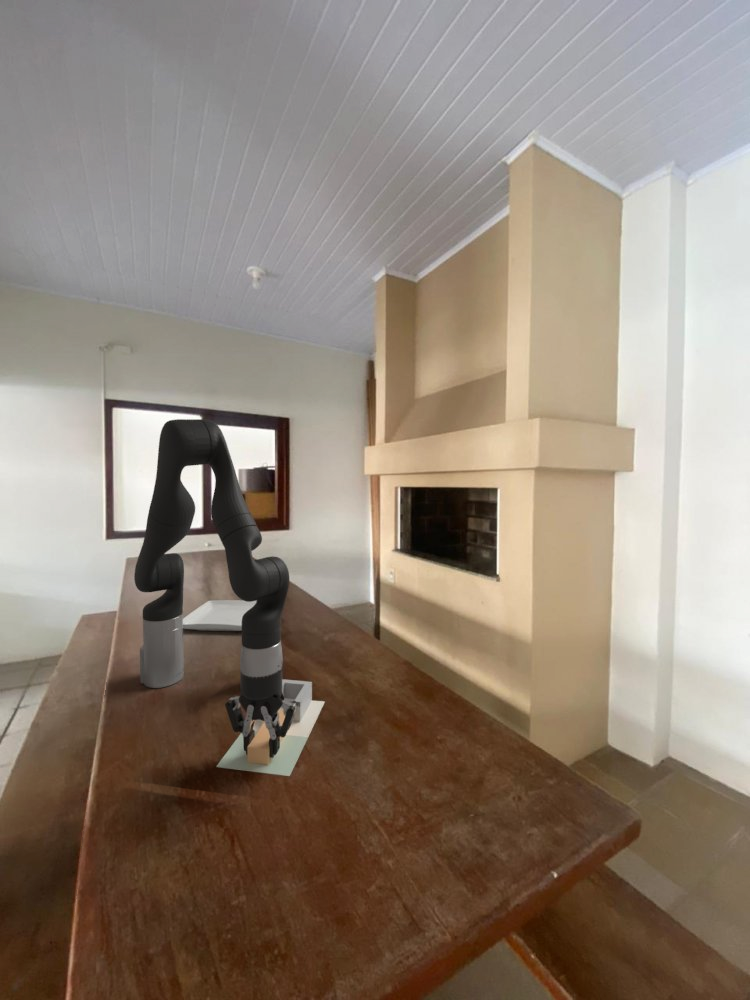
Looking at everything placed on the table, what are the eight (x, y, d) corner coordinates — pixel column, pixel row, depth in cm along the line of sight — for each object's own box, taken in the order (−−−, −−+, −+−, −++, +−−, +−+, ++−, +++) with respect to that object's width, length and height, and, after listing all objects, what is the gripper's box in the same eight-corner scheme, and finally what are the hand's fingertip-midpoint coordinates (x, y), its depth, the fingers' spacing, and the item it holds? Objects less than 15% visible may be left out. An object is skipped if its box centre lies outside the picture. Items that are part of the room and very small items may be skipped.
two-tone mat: (216, 771, 72) (215, 743, 71) (268, 700, 95) (268, 677, 94) (289, 781, 70) (289, 751, 69) (324, 705, 93) (325, 683, 92)
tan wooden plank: (247, 762, 73) (247, 746, 73) (273, 722, 85) (272, 708, 84) (268, 764, 72) (268, 749, 72) (290, 724, 84) (290, 710, 84)
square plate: (254, 636, 133) (254, 625, 133) (174, 634, 134) (173, 623, 133) (275, 609, 160) (275, 600, 160) (208, 608, 161) (208, 598, 160)
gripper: (215, 671, 70) (216, 763, 71) (291, 678, 68) (291, 772, 69) (235, 653, 78) (236, 736, 79) (304, 658, 76) (304, 744, 77)
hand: (261, 752), depth 74 cm, fingers closed on tan wooden plank, 4 cm apart
